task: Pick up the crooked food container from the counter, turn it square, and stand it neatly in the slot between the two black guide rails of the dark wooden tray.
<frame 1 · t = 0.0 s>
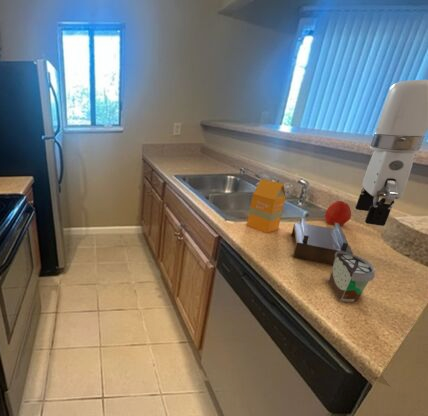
hand: (368, 216, 65), 23 cm above the worktop, tool pointing down, fingers open, 9 cm apart
orange juice: (261, 228, 113), on the worktop
food container: (347, 295, 74), on the worktop
dark wooden tray: (315, 251, 95), on the worktop
apple: (334, 224, 115), on the worktop
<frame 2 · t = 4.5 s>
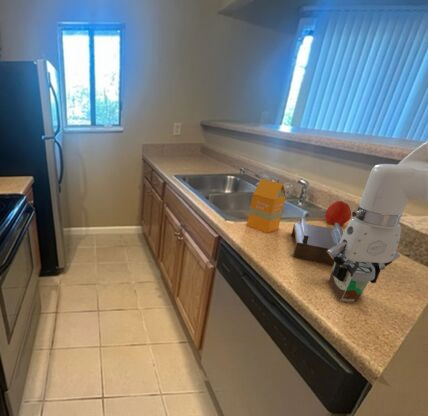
hand: (353, 278, 72), 5 cm above the worktop, tool pointing down, fingers closed on food container, 6 cm apart
food container: (347, 295, 74), on the worktop, touching gripper
everything else where it was.
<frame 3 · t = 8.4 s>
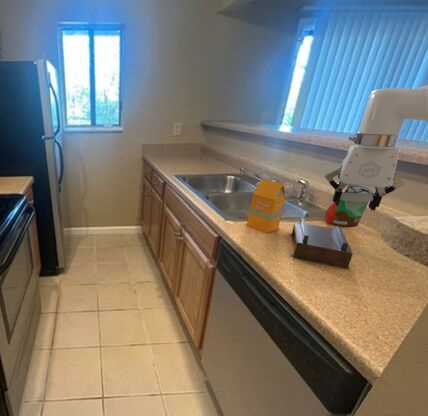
hand: (353, 206, 76), 22 cm above the worktop, tool pointing down, fingers closed on food container, 6 cm apart
food container: (348, 224, 78), point 16 cm above the worktop, touching gripper
everything else where it was.
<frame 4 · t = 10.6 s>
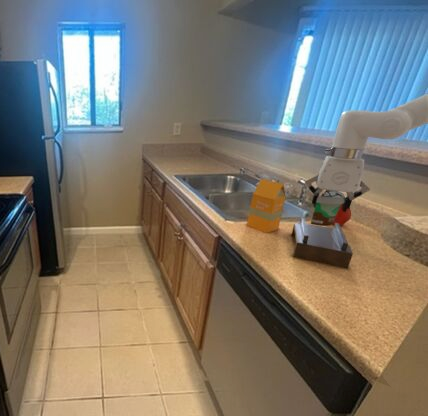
hand: (329, 207, 89), 16 cm above the worktop, tool pointing down, fingers closed on food container, 6 cm apart
food container: (325, 223, 91), point 11 cm above the worktop, touching gripper
everything else where it was.
when the fingers open (11 cm above the worktop, at t = 12.4 s): food container stays where it is, resting on dark wooden tray.
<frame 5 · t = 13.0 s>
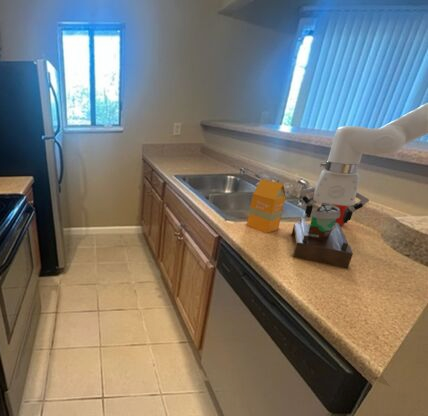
hand: (325, 218, 91), 12 cm above the worktop, tool pointing down, fingers open, 9 cm apart
food container: (321, 236, 93), point 6 cm above the worktop, touching dark wooden tray
everything else where it was.
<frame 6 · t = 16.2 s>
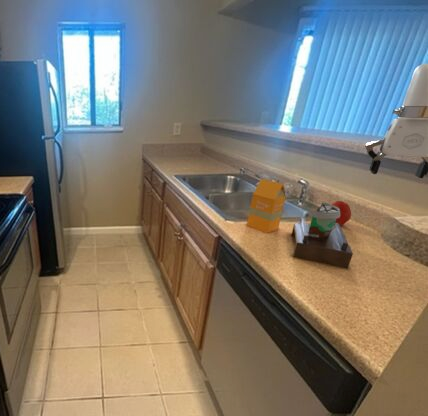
hand: (395, 175, 80), 28 cm above the worktop, tool pointing down, fingers open, 9 cm apart
nothing on the worktop moved.
at the end: food container 0.3 cm off-centre on the dark wooden tray, point 5.8 cm above the dark wooden tray's base; food container tilted 0°; the gripper is holding nothing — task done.
